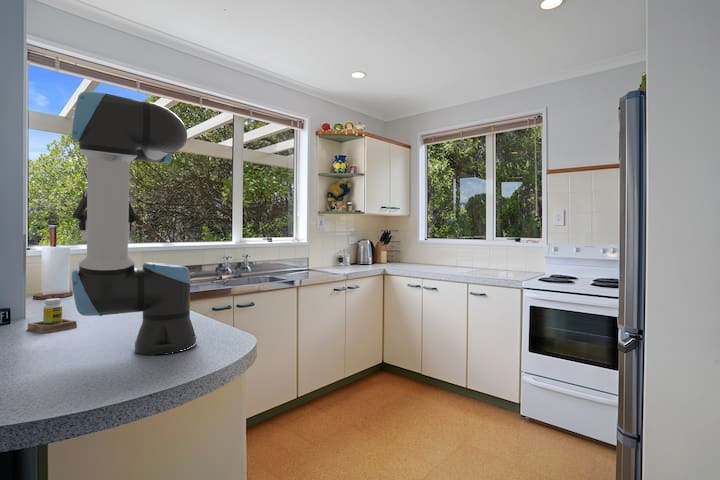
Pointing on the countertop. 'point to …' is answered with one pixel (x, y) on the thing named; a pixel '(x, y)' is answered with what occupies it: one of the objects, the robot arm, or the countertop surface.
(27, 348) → the countertop surface
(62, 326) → the dock board
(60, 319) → the supplement bottle
